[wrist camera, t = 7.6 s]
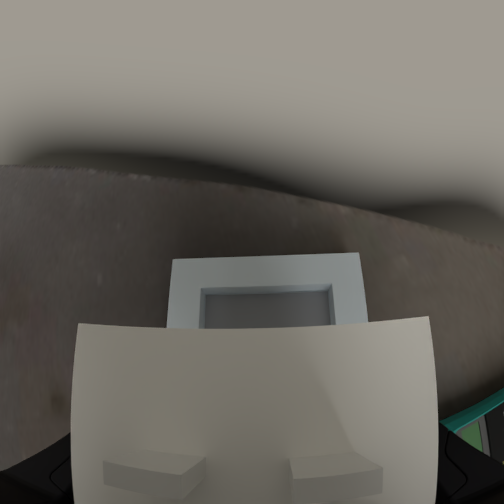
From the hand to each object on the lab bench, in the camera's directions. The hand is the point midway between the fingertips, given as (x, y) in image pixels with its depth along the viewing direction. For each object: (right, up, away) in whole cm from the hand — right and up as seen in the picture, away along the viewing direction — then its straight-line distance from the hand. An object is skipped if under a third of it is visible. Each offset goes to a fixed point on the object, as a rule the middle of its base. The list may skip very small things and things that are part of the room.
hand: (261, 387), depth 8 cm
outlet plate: (+1, -3, +11) cm, 11 cm away
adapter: (0, -4, +5) cm, 7 cm away
